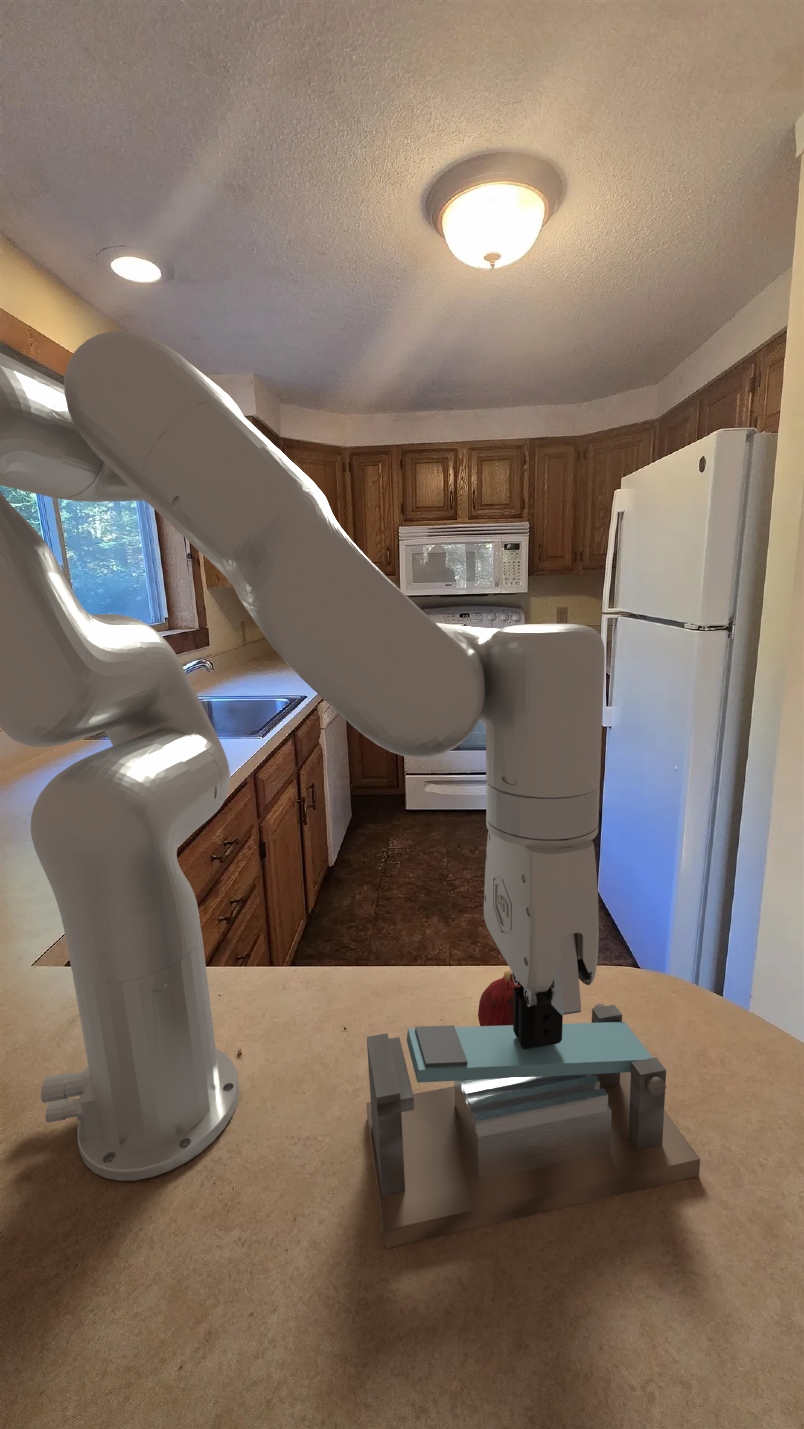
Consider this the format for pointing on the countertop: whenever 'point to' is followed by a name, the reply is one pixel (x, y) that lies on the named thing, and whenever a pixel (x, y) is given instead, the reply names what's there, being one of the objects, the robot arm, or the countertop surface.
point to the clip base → (449, 1197)
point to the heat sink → (532, 1121)
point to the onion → (497, 1002)
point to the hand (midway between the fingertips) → (537, 1038)
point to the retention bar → (520, 1052)
